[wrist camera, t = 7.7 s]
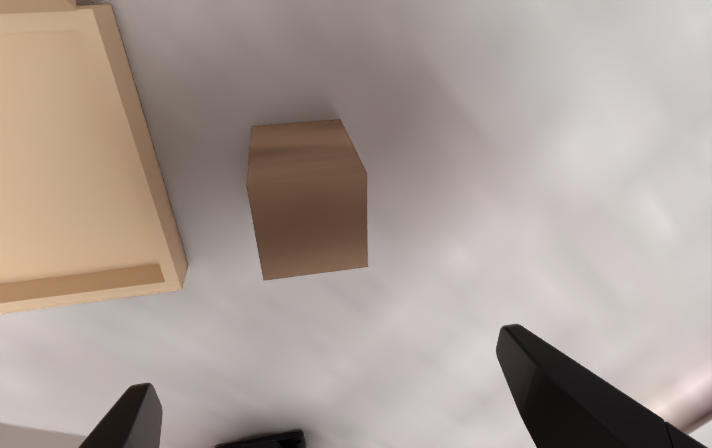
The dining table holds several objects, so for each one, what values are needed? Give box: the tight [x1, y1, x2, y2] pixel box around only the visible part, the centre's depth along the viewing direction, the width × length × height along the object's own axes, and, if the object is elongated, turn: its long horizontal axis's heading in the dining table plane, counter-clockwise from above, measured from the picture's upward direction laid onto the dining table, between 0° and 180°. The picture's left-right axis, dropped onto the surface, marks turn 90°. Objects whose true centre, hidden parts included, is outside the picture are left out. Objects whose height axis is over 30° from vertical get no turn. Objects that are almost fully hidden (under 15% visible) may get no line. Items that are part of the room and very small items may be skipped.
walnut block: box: [246, 119, 368, 280], centre depth 17 cm, size 4×4×6 cm
